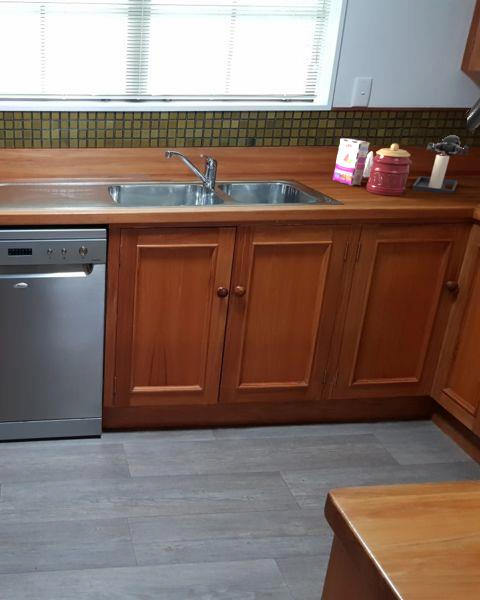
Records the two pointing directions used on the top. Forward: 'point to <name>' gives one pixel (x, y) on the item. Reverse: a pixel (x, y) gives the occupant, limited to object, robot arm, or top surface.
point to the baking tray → (423, 185)
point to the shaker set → (368, 165)
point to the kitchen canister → (389, 171)
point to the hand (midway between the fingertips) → (445, 150)
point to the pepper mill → (439, 170)
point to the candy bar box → (351, 161)
